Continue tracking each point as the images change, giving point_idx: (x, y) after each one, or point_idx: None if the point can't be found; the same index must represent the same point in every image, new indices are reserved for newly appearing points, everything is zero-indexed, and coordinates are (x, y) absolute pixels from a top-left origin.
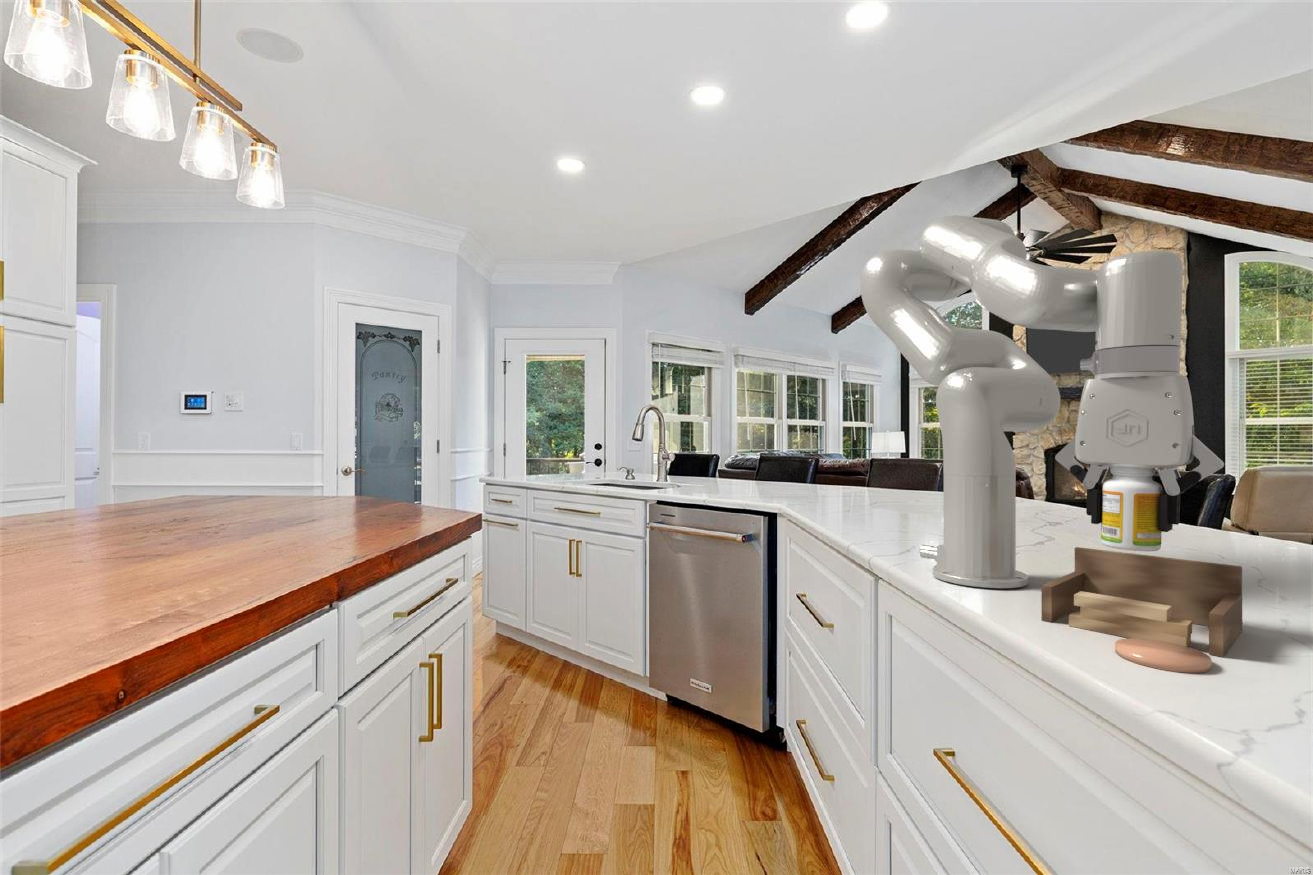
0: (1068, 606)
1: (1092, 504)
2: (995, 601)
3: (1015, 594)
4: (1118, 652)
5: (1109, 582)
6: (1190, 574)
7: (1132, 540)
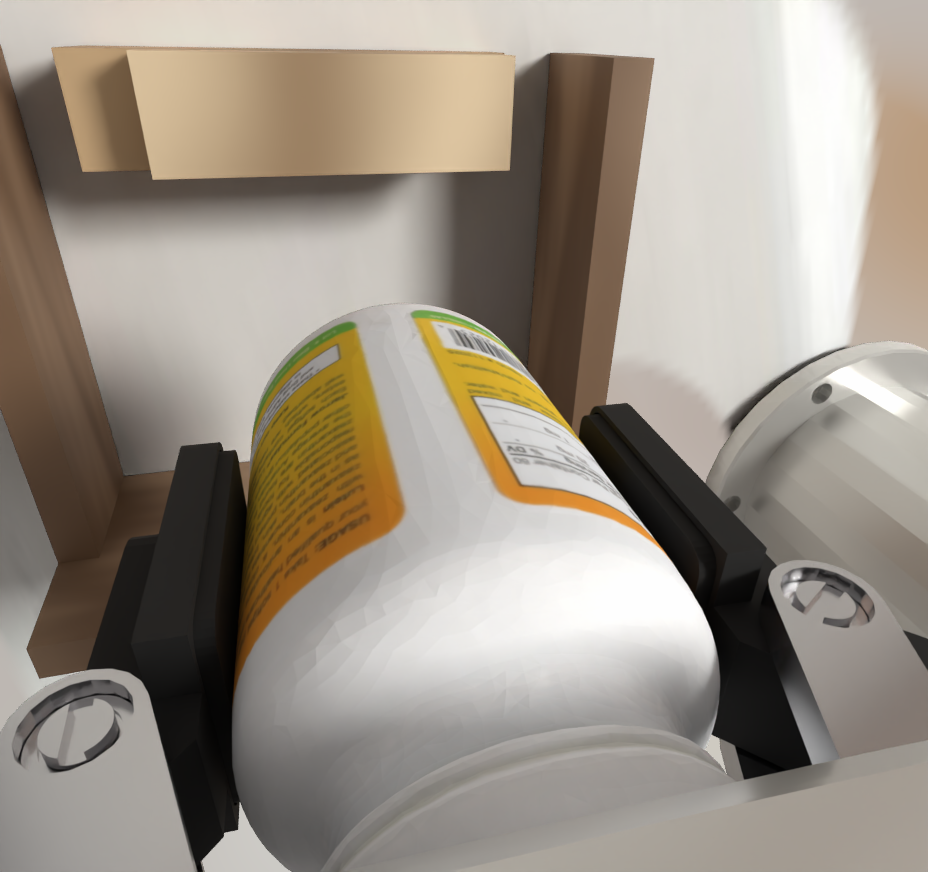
0: (543, 275)
1: (684, 471)
2: (755, 222)
3: (711, 381)
4: None
5: None
6: None
7: (356, 326)
